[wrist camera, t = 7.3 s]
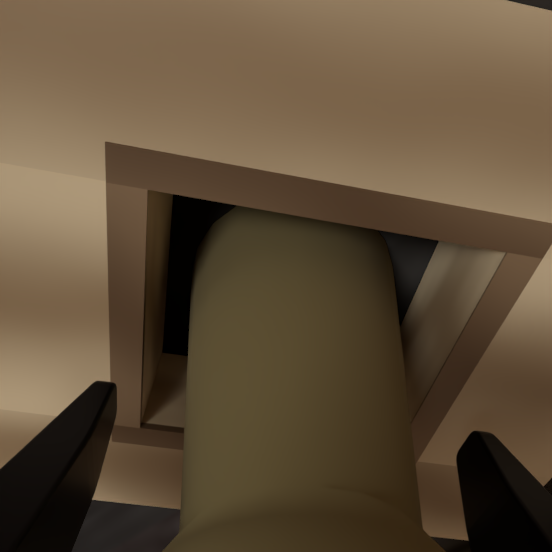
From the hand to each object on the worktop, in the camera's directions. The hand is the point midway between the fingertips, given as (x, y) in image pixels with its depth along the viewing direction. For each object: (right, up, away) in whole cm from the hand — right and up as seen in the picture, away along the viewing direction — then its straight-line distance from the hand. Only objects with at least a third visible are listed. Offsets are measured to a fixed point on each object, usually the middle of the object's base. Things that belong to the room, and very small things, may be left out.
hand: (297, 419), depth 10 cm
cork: (0, +3, +4) cm, 5 cm away
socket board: (0, +3, +4) cm, 5 cm away
